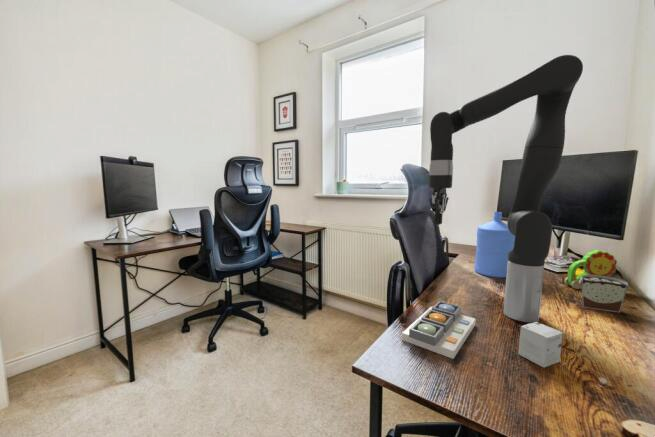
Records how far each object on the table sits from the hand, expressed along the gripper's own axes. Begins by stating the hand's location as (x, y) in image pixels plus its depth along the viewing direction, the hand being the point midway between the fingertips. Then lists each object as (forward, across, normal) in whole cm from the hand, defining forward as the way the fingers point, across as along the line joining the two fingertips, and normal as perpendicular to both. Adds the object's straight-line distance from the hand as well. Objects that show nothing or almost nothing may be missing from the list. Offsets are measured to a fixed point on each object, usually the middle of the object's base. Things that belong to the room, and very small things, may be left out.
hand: (438, 224), depth 101 cm
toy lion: (+27, +48, -44) cm, 71 cm away
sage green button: (+24, -32, -9) cm, 41 cm away
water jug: (+27, +45, -11) cm, 54 cm away
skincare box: (+27, -21, -32) cm, 47 cm away
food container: (+27, +27, -45) cm, 59 cm away
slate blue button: (+24, -16, -9) cm, 30 cm away
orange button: (+25, -24, -9) cm, 35 cm away
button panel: (+27, -24, -10) cm, 37 cm away
